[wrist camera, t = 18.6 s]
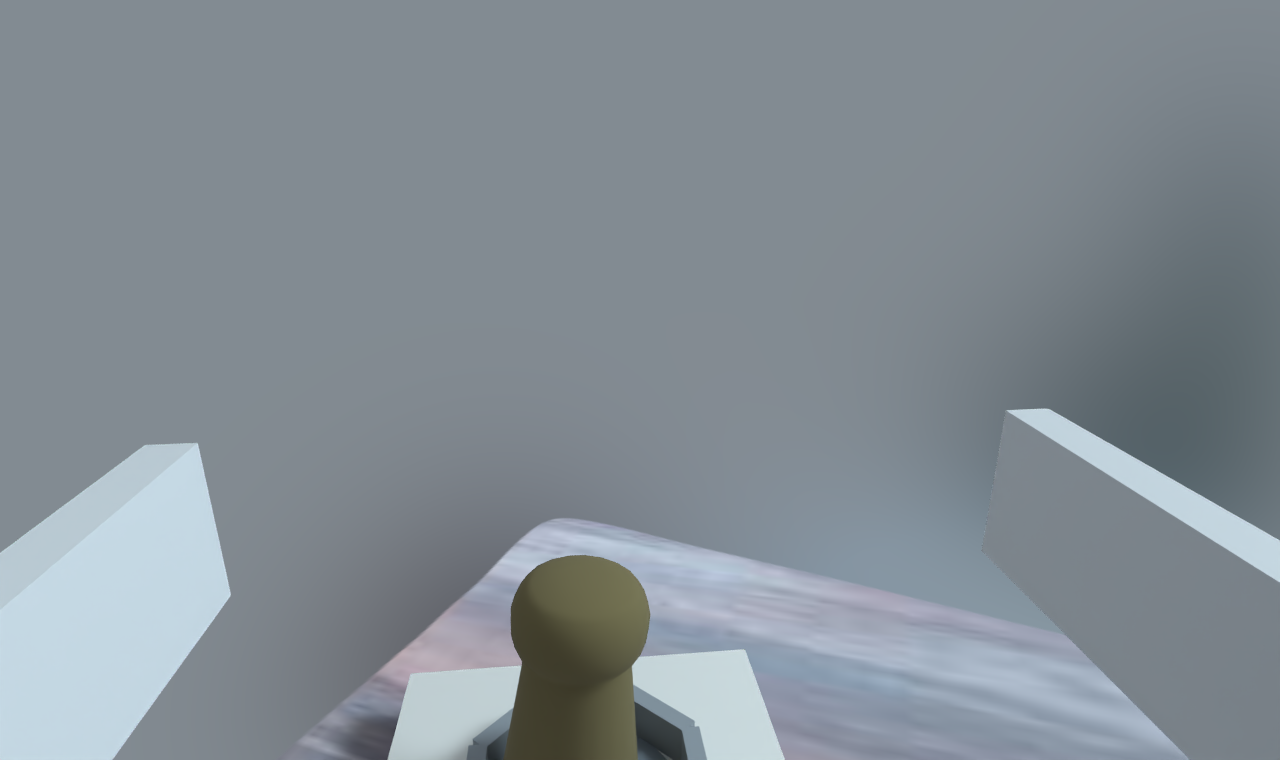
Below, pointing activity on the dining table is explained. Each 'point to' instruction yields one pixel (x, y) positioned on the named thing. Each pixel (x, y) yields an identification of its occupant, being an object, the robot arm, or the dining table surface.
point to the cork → (576, 661)
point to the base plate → (659, 676)
